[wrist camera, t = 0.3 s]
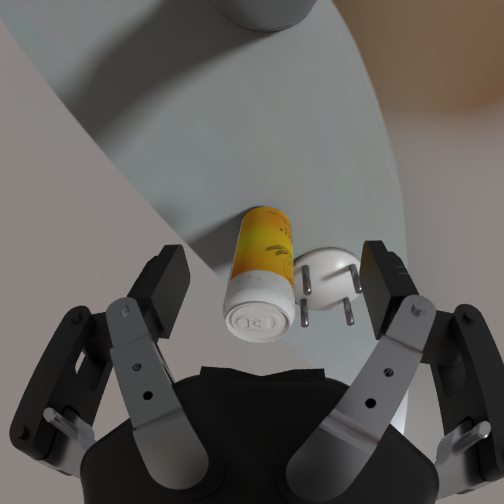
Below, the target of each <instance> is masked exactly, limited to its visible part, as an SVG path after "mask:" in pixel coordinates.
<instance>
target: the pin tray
mask: <svg viewBox="0 0 504 504" xmlns="http://www.w3.org/2000/svg"><path fill="white" fill-rule="evenodd" d="M360 263H361V262H360V260H359V259H358V258H357V257H356V256H355V255H354V254H353V253H351V252H349V251H347V250H344V249H341V248H333V247H328V248H320V249H316V250H313V251H310V252H308V253H306V254H304V255H303V256H301V257H300V258H299V259H298V260H297V261H296V262H295V263H294V264H293V266H294V290H295V302H296V303H298V304H299V305H300V308H301V326H302V327H308V326H309V323H308V309H312V310H322V311H324V310H332V309H336V308H339V307H342V306H344V309H345V315H346V320H347V325H349V326H351V325H353V324H354V319H353V314H352V309H351V304H350V302H351V301H353V300H354V299H355V298H356V297H357V296H358V295H359V294H360V293H362V292H363V291H362V288H361V285H360V280H359V269H360Z"/></svg>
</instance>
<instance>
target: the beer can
mask: <svg viewBox="0 0 504 504" xmlns="http://www.w3.org/2000/svg"><path fill="white" fill-rule="evenodd" d="M223 315H224V318H225V322H226V326H227V328H228V330H229V331H230V332H231V333H232V334H233V335H235V336H236V337H238V338H240V339H243V340H245V341H249V342H255V343H266V342H272V341H275V340H278V339H280V338H282V337H283V336H285V335H286V334H287V333H288V331H289V329H290V326H291V324H292V322H293V321H294V318H295V290H294V266H293V245H292V227H291V223H290V220H289V219H288V217H287V216H286V215H285V214H284V213H283V212H282V211H280V210H278V209H276V208H273V207H258V208H255V209H253V210H251V211H249V212H248V213H247V214H246V215H245V216H244V218H243V219H242V222H241V226H240V230H239V235H238V239H237V244H236V248H235V253H234V258H233V262H232V267H231V271H230V276H229V281H228V285H227V291H226V295H225V300H224V305H223Z"/></svg>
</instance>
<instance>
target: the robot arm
mask: <svg viewBox="0 0 504 504" xmlns="http://www.w3.org/2000/svg"><path fill="white" fill-rule="evenodd" d="M211 1H212V2H213V3H214V4H215V5H216V6H217V7H218V8H219V9H220V10H221V11H222V12H223V13H224V14H225V15H226V16H228V17H229V18H230V19H231V20H232V21H233V22H235V23H237V24H238V25H240V26H242V27H245V28H247V29H250V30H255V31H263V32H272V31H280V30H283V29H287V28H290V27H292V26H294V25H296V24H298V23H299V22H300V21H302V20H303V19H304V18H305V17H306V16H307V15H308V13H309V12H310V11H311V9H312V7H313V6H314V4H315V3H316V1H317V0H211ZM359 280H360V285H361V288H362V291H363V295H364V298H365V301H366V305H367V308H368V312H369V315H370V319H371V323H372V326H373V330H374V334H375V338H376V340H379V342H378V344H377V345H376V347H375V349H374V350H373V352H372V354H371V355H370V357H369V359H368V360H367V362H366V363H365V365H364V366H363V368H362V369H361V371H360V373H359V374H358V376H357V377H356V378H355V380H354V381H353V383H352V384H351V386H348V385H346V384H344V383H342V382H340V381H338V380H335V379H331V378H327V377H325V373H324V369H294V370H289V371H285V372H281V373H276V374H271V375H266V376H257V375H253V374H250V373H246V372H242V371H238V370H235V369H231V368H217V367H204V366H202V367H201V371H200V375H195V376H191V377H188V378H185V379H182V380H180V381H178V382H175V380H174V378H173V376H172V374H171V372H170V370H169V368H168V366H167V364H166V361H165V359H164V357H163V355H162V353H161V351H160V348H159V346H158V345H157V342H158V339H159V338H165V339H169V337H170V334H171V331H172V328H173V326H174V323H175V320H176V318H177V315H178V313H179V310H180V308H181V305H182V302H183V300H184V297H185V295H186V292H187V289H188V287H189V283H190V272H189V268H188V264H187V260H186V256H185V252H184V249H183V247H182V245H165V246H164V247H163V249H162V250H161V252H160V254H159V255H158V256H154V257H153V258H152V259H151V260H150V261H148V262H147V264H146V265H145V267H144V268H143V271H142V272H141V273H140V275H139V278H137V280H136V281H135V283H134V285H133V286H132V288H131V290H130V292H129V293H128V295H127V297H124V298H120V299H118V300H116V301H114V302H113V303H111V304H110V305H109V307H108V308H107V310H106V312H103V313H97V314H91V312H90V310H89V309H88V308H87V307H86V306H77V307H74V308H72V309H71V310H70V311H68V312H67V314H66V315H65V316H64V318H63V319H62V321H61V323H60V325H59V326H58V328H57V330H56V331H55V333H54V335H53V337H52V338H51V340H50V342H49V344H48V346H47V348H46V350H45V351H44V353H43V355H42V357H41V359H40V361H39V363H38V365H37V367H36V369H35V371H34V373H33V375H32V377H31V379H30V381H29V383H28V386H27V388H26V390H25V392H24V394H23V397H22V399H21V401H20V404H19V406H18V408H17V411H16V413H15V416H14V419H13V421H12V424H11V427H10V433H9V435H10V440H11V442H12V444H13V446H14V447H15V448H17V449H18V450H20V451H22V452H23V453H25V454H27V455H28V456H30V457H31V458H32V459H34V460H36V461H37V462H39V463H41V464H43V465H45V466H47V467H48V468H50V469H53V470H56V471H58V472H61V473H63V474H65V475H68V476H72V475H73V476H75V477H77V478H80V479H81V484H82V488H83V494H84V504H435V501H436V500H438V499H441V498H444V497H447V496H450V495H453V494H465V493H467V492H470V491H473V490H475V489H478V488H480V487H483V486H485V485H488V484H490V483H492V482H494V481H497V480H499V479H501V478H503V477H504V364H503V361H502V359H501V356H500V354H499V351H498V349H497V346H496V344H495V342H494V339H493V337H492V335H491V333H490V330H489V328H488V326H487V324H486V322H485V320H484V318H483V316H482V314H481V312H480V311H479V310H478V309H477V308H475V307H474V306H472V305H469V304H461V305H459V306H457V307H456V309H455V311H454V313H449V312H443V311H438V310H436V309H435V306H434V304H433V303H432V302H431V301H430V300H429V299H427V298H425V297H423V296H420V295H419V293H418V291H417V289H416V287H415V285H414V283H413V281H412V279H411V277H410V275H409V274H408V271H407V269H406V268H405V266H404V264H403V262H402V260H401V258H400V257H398V256H397V255H396V254H395V253H394V252H388V251H387V249H386V247H385V245H384V244H383V242H382V241H381V240H378V241H365V242H364V245H363V251H362V257H361V263H360V269H359ZM81 351H82V352H83V353H84V354H85V357H84V359H83V362H82V364H81V366H80V368H79V370H78V373H77V374H76V371H75V365H76V362H77V360H78V358H79V356H80V353H81ZM419 363H425V364H430V366H431V371H432V375H433V379H434V383H435V387H436V391H437V396H438V401H439V406H440V411H441V417H442V423H443V428H444V436H445V437H443V438H442V440H441V441H440V443H439V445H438V448H437V455H436V461H435V464H433V463H432V462H431V460H430V459H428V458H427V457H426V456H425V455H424V454H423V453H422V452H421V451H419V449H417V448H416V447H415V446H414V445H413V444H412V443H411V442H410V441H409V440H408V439H406V438H405V437H404V436H403V435H402V434H401V433H400V432H399V431H398V430H397V429H396V428H395V427H393V426H392V425H391V424H390V422H391V420H392V418H393V416H394V415H395V413H396V411H397V409H398V407H399V405H400V403H401V401H402V399H403V397H404V395H405V393H406V391H407V389H408V387H409V385H410V383H411V381H412V379H413V376H414V374H415V372H416V370H417V367H418V365H419ZM113 366H114V369H115V373H116V377H117V380H118V383H119V387H120V390H121V393H122V396H123V399H124V402H125V405H126V408H127V411H128V414H129V417H130V418H129V419H127V420H126V421H125V422H123V423H122V424H120V425H119V426H118V427H116V428H115V429H114V430H112V431H111V432H110V433H108V434H107V435H105V436H104V437H103V438H101V439H100V440H99V441H97V442H96V440H95V439H94V438H95V437H94V431H93V429H92V425H93V423H94V419H95V416H96V413H97V410H98V407H99V404H100V401H101V398H102V395H103V393H104V390H105V387H106V384H107V381H108V379H109V376H110V373H111V370H112V368H113Z"/></svg>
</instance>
